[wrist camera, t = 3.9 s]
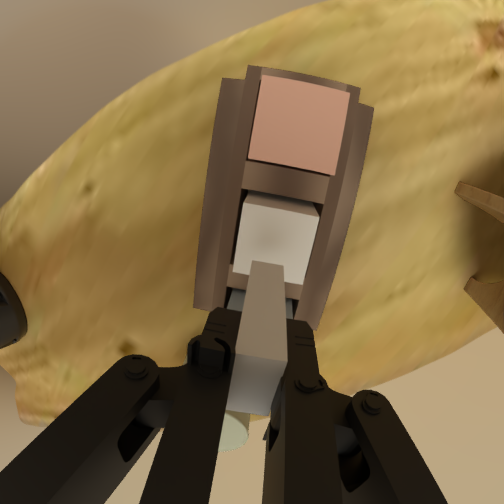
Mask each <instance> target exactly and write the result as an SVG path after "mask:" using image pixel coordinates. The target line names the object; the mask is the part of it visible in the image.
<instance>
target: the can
mask: <svg viewBox="0 0 504 504" xmlns="http://www.w3.org/2000/svg"><path fill="white" fill-rule="evenodd" d="M186 363H187V356H186V358H185V361H184V363H183V365H184V364H186ZM249 421H250V414H249V413H243V412H237V411H231V410H226V411H225V416H224V421H223V427H222V432H221V438H220V443H219V449H218V452H223V451H231V450H234V449H238V448H240V447H241V446H243V445H244V444H245V443H246V442H247V440H248V435H249V434H248V430H249Z"/></svg>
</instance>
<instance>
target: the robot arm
mask: <svg viewBox="0 0 504 504" xmlns="http://www.w3.org/2000/svg"><path fill="white" fill-rule="evenodd" d="M26 332H27V321H26V317H25V313H24V310H23V308H22V305H21V303H20V301H19V299H18V297H17V295H16V293H15V292H14V290H13V288H12V287H11V285H10V284H9V282H8V281H7V280H6V279H5V277H4V276H3V275H2V274H1V273H0V349H2V348H4V347H7V346H9V345H11V344H14V343H16V342H18V341H19V340H20V339H21V338H22V337H23V336H24V335H25V334H26ZM226 410H231V411H237V412H243V413H249V414H256V415H263V416H268V415H269V413H270V410H271V419H270V422H269V424H268V427H267V430H266V432H265V434H264V437H263V440H266V454H265V470H264V483H263V496H262V504H448V503H447V501H446V499H445V497H444V495H443V494H442V492H441V490H440V488H439V486H438V485H437V483H436V481H435V479H434V477H433V475H432V474H431V472H430V470H429V468H428V467H427V465H426V463H425V461H424V460H423V458H422V456H421V455H420V453H419V451H418V449H417V448H416V446H415V444H414V442H413V441H412V439H411V437H410V436H409V434H408V432H407V431H406V429H405V427H404V425H403V424H402V422H401V420H400V419H399V417H398V415H397V414H396V412H395V411H394V409H393V407H392V406H391V404H390V402H389V401H388V400H387V399H386V397H385V396H383V395H382V394H380V393H379V392H376V391H372V390H362V391H359V392H357V393H356V394H355V395H354V396H353V397H350V396H347V395H344V394H341V393H338V392H336V391H333V390H332V389H330V388H329V387H328V385H327V382H326V380H325V379H324V378H323V377H322V376H321V375H320V374H319V368H318V361H317V354H316V348H315V341H314V335H313V330H312V328H311V327H310V325H309V324H308V323H307V321H301V320H295V319H288V318H286V305H285V284H284V266H283V265H277V264H272V263H266V262H261V261H255V260H252V264H251V269H250V274H249V280H248V285H247V290H246V295H245V300H244V306H243V311H237V310H231V309H226V308H221V307H217V308H215V309H214V310H213V311H211V312H210V313H209V316H208V319H207V321H206V324H205V327H204V330H203V332H202V335H198V336H196V337H194V338H192V339H191V340H190V342H189V343H188V351H187V363H186V364H184V365H182V366H179V367H158V366H157V364H156V362H155V361H153V360H152V359H151V358H149V357H146V356H143V355H134V354H132V355H128V356H124V357H123V358H121V359H120V360H118V361H117V362H116V363H115V364H114V365H113V366H112V367H111V368H110V369H108V370H107V371H106V372H105V373H104V374H103V375H102V376H101V377H100V378H99V379H98V380H97V381H96V382H94V383H93V384H92V385H91V386H90V387H89V388H88V389H87V390H86V391H85V392H84V393H83V394H82V395H81V396H80V397H78V398H77V399H76V400H75V401H74V402H73V403H72V404H71V405H70V406H69V407H68V408H67V409H66V410H65V411H64V412H63V413H61V414H60V415H59V416H58V417H57V418H56V419H55V420H54V421H53V422H52V423H51V424H50V425H49V426H48V427H47V428H46V429H45V430H44V431H43V432H41V433H40V434H39V435H38V436H37V437H36V438H35V439H34V440H33V441H32V442H31V443H30V444H29V445H28V446H27V447H26V448H25V449H24V450H23V451H22V452H21V453H20V454H19V455H18V456H16V457H15V458H14V459H13V460H12V461H11V462H10V463H9V464H8V466H6V467H5V468H4V469H3V470H2V471H1V472H0V504H104V503H105V502H106V501H107V499H108V498H109V497H110V495H111V494H112V493H113V492H114V490H115V489H116V488H117V486H118V485H119V484H120V483H121V481H122V480H123V479H124V477H125V476H126V475H127V473H128V472H129V471H130V470H131V468H132V467H133V466H134V464H135V463H136V462H137V460H138V459H139V458H140V456H141V455H142V454H143V452H144V451H145V450H146V448H147V447H148V446H149V444H150V443H151V442H152V440H153V439H154V438H155V436H156V435H157V433H158V432H159V431H160V429H161V428H164V431H163V434H162V437H161V440H160V442H159V445H158V448H157V451H156V454H155V457H154V461H153V464H152V466H151V469H150V472H149V475H148V478H147V481H146V484H145V488H144V490H143V493H142V496H141V500H140V503H139V504H208V503H209V498H210V492H211V487H212V481H213V476H214V471H215V465H216V460H217V454H218V449H219V443H220V438H221V432H222V427H223V421H224V416H225V411H226Z"/></svg>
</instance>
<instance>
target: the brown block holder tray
mask: <svg viewBox="0 0 504 504" xmlns="http://www.w3.org/2000/svg"><path fill="white" fill-rule="evenodd" d="M262 75H268V76H274V77H280V78H286V79H292V80H297V81H302V82H307V83H312V84H316V85H321V86H325V87H329V88H333V89H337V90H341V91H345V92H348V93H350V97H349V103H348V109H347V115H346V120H345V126H344V131H343V137H342V142H341V147H340V152H339V157H338V162H337V167H336V171H335V176H334V175H330V174H325V173H321V172H316V171H312V170H307V169H302V168H298V167H293V166H288V165H282V164H277V163H272V162H266V161H260V160H255V159H249V158H248V154H249V148H250V142H251V136H252V130H253V125H254V119H255V113H256V107H257V102H258V96H259V90H260V85H261V79H262ZM360 89H361V88H359V87H355V86H352V85H348V84H344V83H341V82H337V81H333V80H329V79H325V78H320V77H316V76H311V75H306V74H301V73H296V72H291V71H285V70H279V69H273V68H266V67H259V66H251V65H248V67H247V73H246V78H245V80H240V79H231V78H222V82H221V88H220V94H219V99H218V105H217V111H216V117H215V123H214V129H213V136H212V142H211V149H210V156H209V163H208V170H207V177H206V185H205V193H204V201H203V209H202V218H201V227H200V236H199V246H198V256H197V267H196V278H195V290H194V303H193V308H197V309H201V310H206V311H213V310H214V309H215V308H217V307H221V308H226V309H227V306H228V303H229V300H230V297H231V294H232V291H233V288H238V289H243V290H247V285H248V280H249V275H246V274H241V273H236V272H233V265H234V259H235V252H236V246H237V239H238V233H239V227H240V220H241V214H242V208H243V202H244V201H245V199H246V197H247V196H248V194H249V192H250V191H251V190H255V191H260V192H266V193H271V194H276V195H282V196H287V197H292V198H297V199H302V200H307V201H311V202H312V203H313V205H314V207H315V209H316V211H317V213H318V215H319V222H318V226H317V230H316V234H315V238H314V242H313V246H312V250H311V254H310V258H309V262H308V266H307V270H306V273H305V277H304V281H303V285H300V284H295V283H289V282H284V284H285V297H286V298H292V313H293V319H295V320H301V321H307V323H308V324H309V325H310V327H311V328H312V330H317V327H318V325H319V322H320V319H321V316H322V313H323V310H324V307H325V304H326V301H327V298H328V295H329V292H330V289H331V285H332V282H333V279H334V276H335V272H336V269H337V266H338V262H339V259H340V256H341V252H342V249H343V245H344V242H345V238H346V234H347V231H348V227H349V223H350V219H351V215H352V211H353V207H354V203H355V199H356V195H357V191H358V187H359V182H360V178H361V174H362V169H363V164H364V160H365V155H366V150H367V145H368V140H369V135H370V129H371V124H372V118H373V112H374V108H373V107H370V106H367V105H364V104H360V103H358V101H359V95H360Z"/></svg>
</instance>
